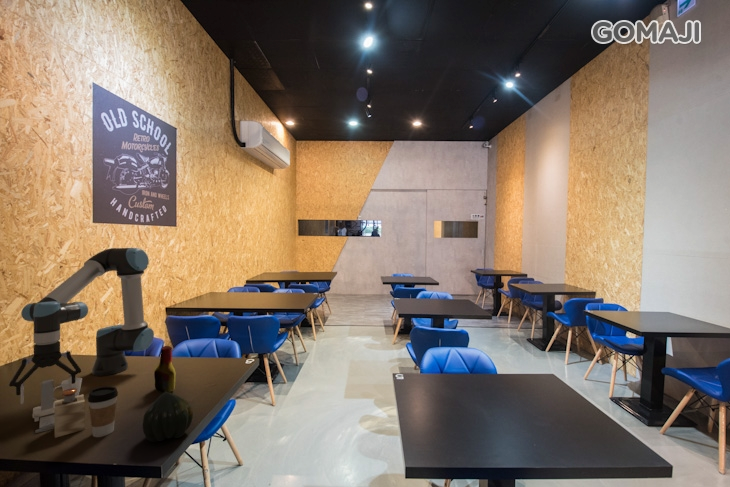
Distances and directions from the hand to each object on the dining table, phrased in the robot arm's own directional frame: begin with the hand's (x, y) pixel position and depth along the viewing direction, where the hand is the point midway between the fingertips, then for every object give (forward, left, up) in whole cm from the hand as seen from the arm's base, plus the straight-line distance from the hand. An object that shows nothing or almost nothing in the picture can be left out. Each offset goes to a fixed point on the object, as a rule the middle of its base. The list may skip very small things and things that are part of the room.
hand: (47, 397), depth 132 cm
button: (-6, +18, 0) cm, 19 cm away
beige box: (-6, +18, -7) cm, 21 cm away
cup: (-6, -13, -8) cm, 16 cm away
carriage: (0, 0, -7) cm, 7 cm away
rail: (0, +4, -7) cm, 8 cm away
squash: (-31, +47, -8) cm, 57 cm away
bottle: (-39, +5, -8) cm, 40 cm away
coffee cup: (-15, +30, -7) cm, 34 cm away
